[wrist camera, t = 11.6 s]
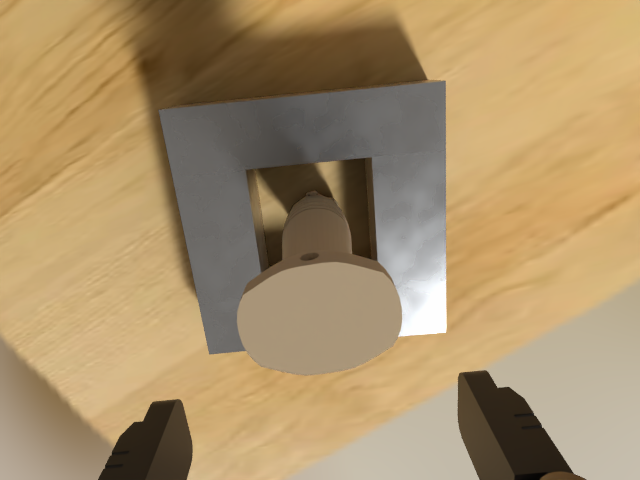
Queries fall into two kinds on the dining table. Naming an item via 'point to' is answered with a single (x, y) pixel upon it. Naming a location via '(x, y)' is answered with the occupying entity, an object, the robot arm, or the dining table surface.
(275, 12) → the dining table surface
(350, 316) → the handle
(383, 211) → the block
